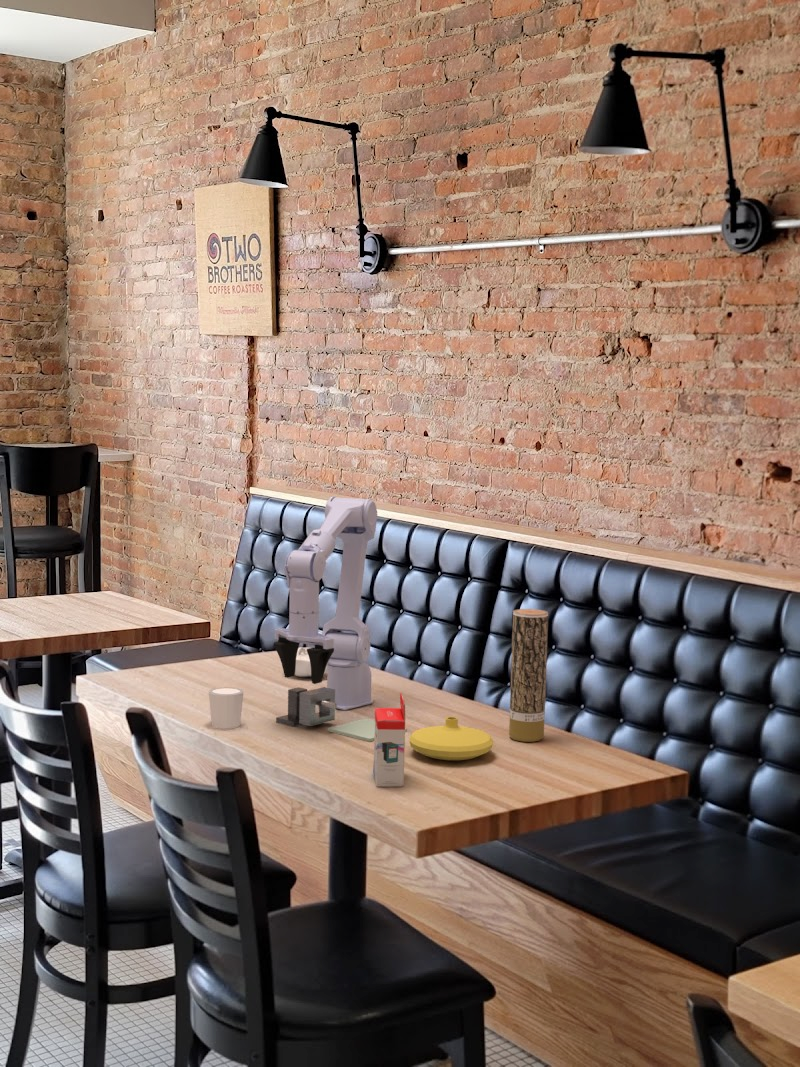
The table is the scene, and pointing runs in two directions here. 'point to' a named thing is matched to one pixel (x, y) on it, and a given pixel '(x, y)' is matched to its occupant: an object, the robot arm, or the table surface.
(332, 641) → the robot arm
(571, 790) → the table surface
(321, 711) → the grey hollow frame block
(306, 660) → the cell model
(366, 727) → the coaster
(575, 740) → the table surface
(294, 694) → the post
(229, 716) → the white cup
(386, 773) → the ink box
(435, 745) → the vase
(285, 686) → the table surface
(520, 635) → the paper tube
